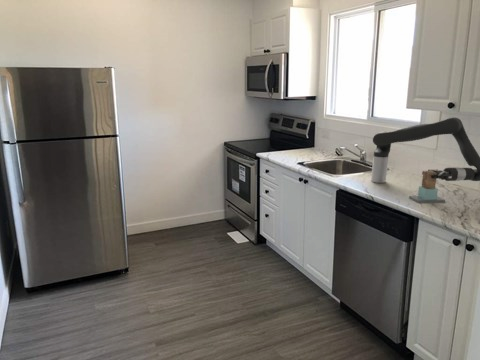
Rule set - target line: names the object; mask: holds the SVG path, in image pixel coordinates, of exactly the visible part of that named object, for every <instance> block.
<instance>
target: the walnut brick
mask: <svg viewBox="0 0 480 360" xmlns="http://www.w3.org/2000/svg"><path fill="white" fill-rule="evenodd" d="M422 172H423V175H422V180H421V186H422V187H423V188H426V189H435V188H436V183H437V179H432V178H431V175H432V174H437V173H436V172H433V171H428V170H422Z"/></svg>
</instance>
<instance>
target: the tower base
mask: <svg viewBox="0 0 480 360" xmlns="http://www.w3.org/2000/svg"><path fill="white" fill-rule="evenodd" d="M438 192H439V189H438V188H436V187H435V189H426V188H423V187H422V185H419V186H418V192H417V195H409V198H408V199H410V200H412V201H414V202H415V203H418V204H419V203H426V204H427V203H446V199H445V198H442V197H440V196H438Z"/></svg>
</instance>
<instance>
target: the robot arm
mask: <svg viewBox="0 0 480 360" xmlns="http://www.w3.org/2000/svg"><path fill="white" fill-rule="evenodd" d="M439 135H451V136H453V138H454V139H455V141H456V142H457V145H458V147H459V151H460V153H461V155H462V157H463V159H464V160H465V162H466V164H468V166H470V167H458V166H457V167H445V168H444V169H443V170H441V169H427V171H433V172H436V173H437V174H432V175H431V178H432V179H436V180H437V179H438V180H441V181H443V180H444V181H446V182H456V181H457V182H460V181H471V182H472V181H473V182H480V155H479V153H478V151H477V150H476V149H475V147H474V145H473V144H472V142H471V140H470V139H469V136H468V134H467V131H466V130H465V126H464V125H463V121H462V120H461V119H460V118H459V117H448V118H445V119H443V120H441V121H436V122H433V123H420V124H415V125H414V124H413V125H410V126H406V127H403V128H399V129H396V130H393V131H381V132H377V133H375V134H374V135H373V138H372V143H373V144H374V145H375V146H376V148H375V150H374V151H373V157H372V158H373V159H372V167H371V178H370V179H371V182H372V183H377V184H383V183H386V181H387V172H388V164H389V163H388V162H389V154H390V152H391V147H392V144H394V143H395V144H396V143H406V142H414V141H419V140H423V139H427V138H430V137H434V136H439ZM471 167H474V168H475V169H474V168H471ZM421 173H422V174H421V175H422V176H423V171H422V172H421Z"/></svg>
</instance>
